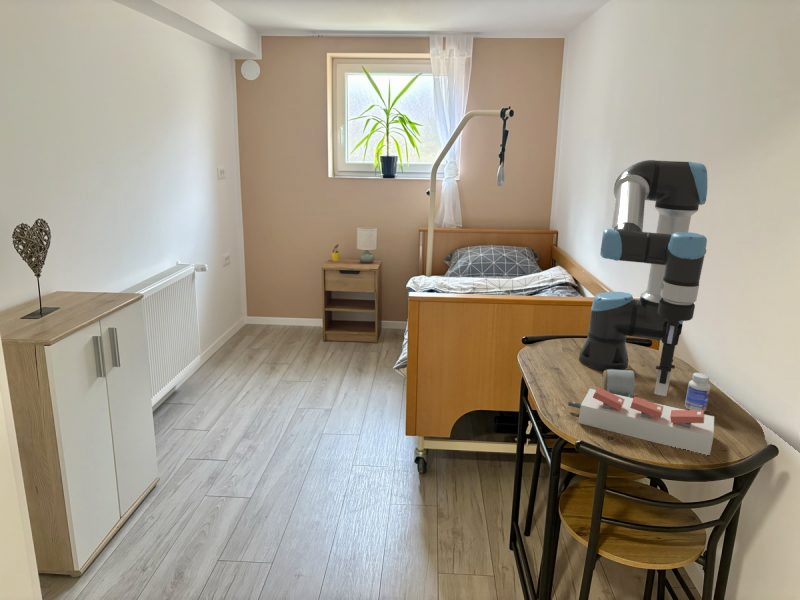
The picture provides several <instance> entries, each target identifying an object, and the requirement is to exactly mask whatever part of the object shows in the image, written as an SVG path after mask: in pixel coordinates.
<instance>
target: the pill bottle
mask: <svg viewBox="0 0 800 600" xmlns="http://www.w3.org/2000/svg"><path fill="white" fill-rule="evenodd" d="M709 382H710V375H708V374H707V373H706V374H705V373H702V372H694V373H693V374H692V379H691V380H690V381H689V382H688V384H687V385H688V386H687V391H686V396H685V403H684V406H685V408H686V410H704V412H706V411H707V409H708V408H707V407H708V404H709V397H710V391H711V387H712V386H711V384H710V383H709Z"/></svg>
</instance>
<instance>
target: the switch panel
mask: <svg viewBox="0 0 800 600" xmlns="http://www.w3.org/2000/svg"><path fill="white" fill-rule="evenodd" d="M596 390H597V389H593V388H589V389H588V392H587V393H586V395H585V396H584V398H583V400H582V402H581V403H579V402H575V401H572V400H571V401H570V400H569V401H568V404H567V406H569V407H573V408H578V409H579V414H578V415H579V417H578V421H577V423H578V424H580V425H583V426H584V425H586V426H588V427H593V428H597V429H600V430H604V431H609V432H613V433H616V434H621V435H624V436H629V437H633V438H635V439H640V440H644V441H647V442H648V441H649V442H651V443H656V444H660V445H664V446H667V445H668V447H671V446H672V448H675V447H676V449H679V448H681V449H680V450H683V449H686V450H685V451H687V450H690V451H689V452H691V451H694V452H693V453H695V452H699V453H702V454H701V455H703V454H706V455H705V456H707V455H710V456H711V451H712V445H713V440H714V438H715V437H714V436H715V435H714V434H715V431H714V430H715V416H714V415H709V414H705V413H704V423H671V419H670V415H671V410H684V409H682V408H677V407H672V406H669V405H664V404H660V403H655V402H654V403H655V404H658V405H660V406H663V412H662V415H661V418H657V417H654V416H651V415H649V414H646V413H643V412H640V411H638V410H635V409H632V408H630V407H631V404H632V401H633V398H634V397H632V398H630V397H625V396H621V395H617V394H614V395H617V396H619V397H621V398H623V399H625V400H624V403H623V405H622V407H621V409H620V411H619V410H617V409H615V408H613V407H611V406H609V405H607V404H605V403H603V402H601V401H599V400H597V399H595V398H593V396H594V394H595V391H596ZM699 453H698V454H699Z"/></svg>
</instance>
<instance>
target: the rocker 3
mask: <svg viewBox="0 0 800 600" xmlns="http://www.w3.org/2000/svg"><path fill="white" fill-rule="evenodd" d="M704 414H705V411H704V410H689V409H683V410H671V415H670V419H671V423H704Z"/></svg>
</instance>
